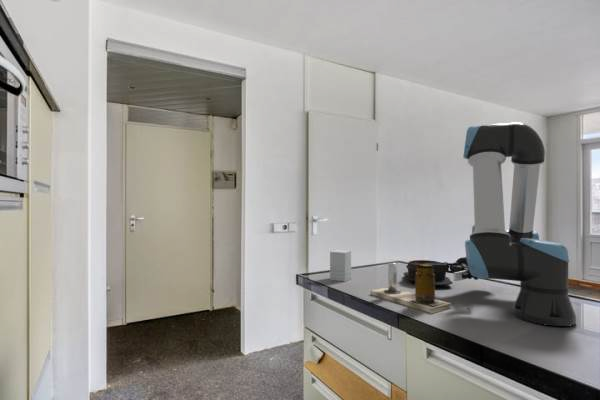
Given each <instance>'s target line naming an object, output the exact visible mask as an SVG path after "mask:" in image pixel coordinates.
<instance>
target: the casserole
mask: <svg viewBox="0 0 600 400" xmlns="http://www.w3.org/2000/svg"><path fill="white" fill-rule="evenodd" d="M424 263H442V262H440V261H435V260H425V259H418V260H416V259H415V260H409V261H408V263H407V265H405V267H406V269H407V271H405V272H403V273H402V274H403V275H404V276H403V278H404V279H406V280H408V281H411V282H413V283H415V282H416V280H415V277H416V276H415V275H416V272H417V265H418V264H424ZM434 274H435V286H448V285H453V283H454V281H452V280H451V279H450V278H449V277H447V276H446V275H447V272H446V271H434Z"/></svg>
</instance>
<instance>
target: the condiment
mask: <svg viewBox="0 0 600 400" xmlns="http://www.w3.org/2000/svg"><path fill="white" fill-rule="evenodd" d="M433 268H434V266H433V265H431V264H418V265H417V272H416V275H415V276H416V277H415V280H416V282H414V285H415V289H414V291H415V292H414V294H415V297H416V298H415V299H411V300H412V301H415V302H419V303H424V304H428V305H433V306H434V305H439V304H441V303H444V302H445V301H444V300H440V301H439V299H437V300H435V299H436V298H435V297H436V296H435V295H436V294H435V292H436V285H435V274H434V269H433ZM443 301H444V302H443Z"/></svg>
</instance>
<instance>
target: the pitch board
mask: <svg viewBox="0 0 600 400" xmlns="http://www.w3.org/2000/svg"><path fill="white" fill-rule="evenodd" d="M370 295H372V296H374V297H377V298H382V299H385V300H388V301H390V302H391V301H392V302H394V303H398V304H400V305H403V306H407V307H411V308H413V309H417V310H421V311H422V312H426V313H430V314H436V313H438V312H442V311H445V310H448V309H452V303H450V302H447V301H444V300H442V301H443V302H444V303H441V304H439V305H434V306H433V305H428V304H424V303H419V302H415V301H412V300H411V299H415V298H416V297H415V292H409V291H407V290H404V289H403V290H402V289H399V288H397V292H395V293H391V292H388V286H387V287H386V286H385V287H380V288H375V289H370ZM435 300H439V299H437V298H435ZM439 301H441V300H439Z"/></svg>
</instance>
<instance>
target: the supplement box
mask: <svg viewBox="0 0 600 400" xmlns="http://www.w3.org/2000/svg"><path fill="white" fill-rule="evenodd" d="M329 274H330V275H329V277H330V281H336V282H347V281H349V280H351V279H352V251H351V250H346V249H344V250H343V249H335V250H331V251H330V252H329Z"/></svg>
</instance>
